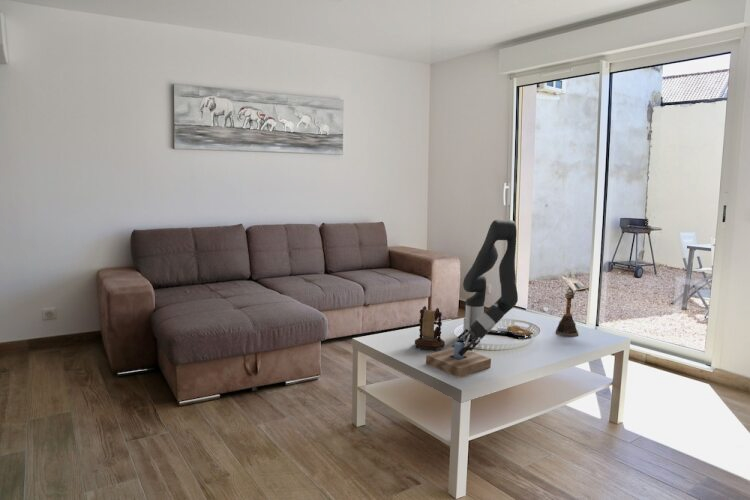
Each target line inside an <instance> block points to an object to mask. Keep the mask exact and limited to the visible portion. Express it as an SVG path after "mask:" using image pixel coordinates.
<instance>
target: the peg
mask: <svg viewBox="0 0 750 500" xmlns="http://www.w3.org/2000/svg"><path fill="white" fill-rule="evenodd" d="M464 343H465V342H464ZM464 343H461V342H457V341H455V342H453V345H454V355H453V358H454V359H457V360H461V359H463V358H464V355H463V356H461V355H460V354H459V353H458V352H459V351H460V350H461V349H462V348H463V347H464V346H465V344H464Z"/></svg>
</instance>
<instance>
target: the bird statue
mask: <svg viewBox="0 0 750 500" xmlns="http://www.w3.org/2000/svg"><path fill="white" fill-rule="evenodd" d="M571 273H572V272H571V270H570V269H568V270H567V275H566V276H563V275H562V276H560V279H561V280H562V281H563V282H565V284H566V285H568V288H567V289H565V292H564V298H565V299H566V305H565V307H566V308H565V313H563V315H562V318H561V319H560V321H559V322H558V325H557V326H556V329H555V334H556V335H560V336H562V337H570V338H573V337H577V336H579V331H578V330H577V327H576V325H577V324H576V322H575V320H574V319H573V314H572V313H571V307H572V300H573V299H574V297H575V294H576V292H577V293H578V292H580V293H581V292H585V291H588V292H589V291H590V287H587V286H585V285H584V284H583V283H582V282H581V281H580V280H579V279H578V276H579V275H577V274H578V273H576V274H575V275H574V274H571Z"/></svg>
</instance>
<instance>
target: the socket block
mask: <svg viewBox="0 0 750 500" xmlns="http://www.w3.org/2000/svg"><path fill="white" fill-rule="evenodd" d="M453 355H454V348H453V347H451V348H448V349H444V350H439V351H435V352H433V353H430V354H425V364H426V365H429V366H430V367H433V368H436V369H438V370H440V371H442V372H445V373H447V372H448V374H450V375H453V376H455V377H457V376H458V377H457V378H459V377H460V378H462V376H463V377H465V375H466V376H468V374H469V375H471V374H474V373H477V372H478V373H479V372H481V371H484V370H487V369H489V368H492V367H491V365H492V364H491V363H492V358H491V357H488V356H485V355H482V354H480V353H476V352H473V351H470V350H469V351H467V352H466V353H465V354H464V358H463V359H461V360H457V359H454V358H453Z"/></svg>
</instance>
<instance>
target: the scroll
mask: <svg viewBox="0 0 750 500" xmlns="http://www.w3.org/2000/svg"><path fill="white" fill-rule="evenodd" d="M419 314H420V315H419V316H420V317H419V320H418V321H419V337H418V338H416V339H415V340H414V345H415V347H416V349H418V348H421V349H429V350H433V351H434V352H437V349H441V348H444V347H446V346H445V345H446V342H445V341H444V340H443V339H442V337H441V335H442V328H441V327H442V325H443V323H442V317H443V314H442V312H441V311H440V309H439V308H438V307H436V308H435V310H432V309H427V306H426V305H425V306H423V307H422V309H420V310H419ZM435 326H436V327H435Z"/></svg>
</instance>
